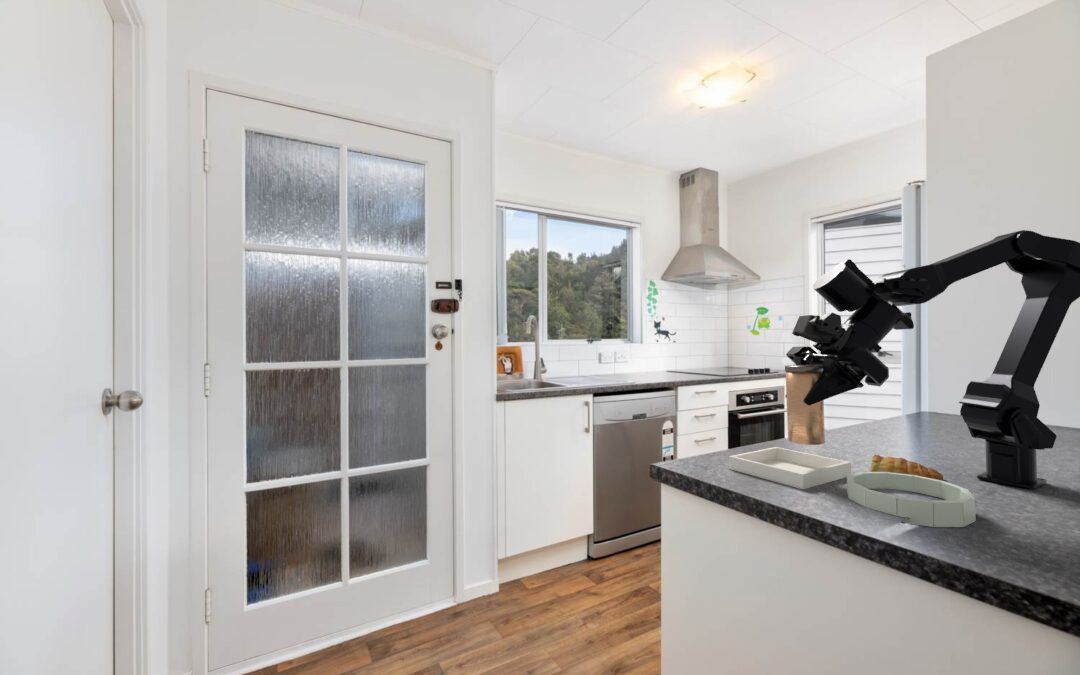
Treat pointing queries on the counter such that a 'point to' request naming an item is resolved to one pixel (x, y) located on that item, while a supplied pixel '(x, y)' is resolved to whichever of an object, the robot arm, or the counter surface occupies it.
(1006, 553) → the counter surface
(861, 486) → the bowl
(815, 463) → the tray
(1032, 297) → the robot arm
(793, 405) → the canister
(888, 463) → the pastry
